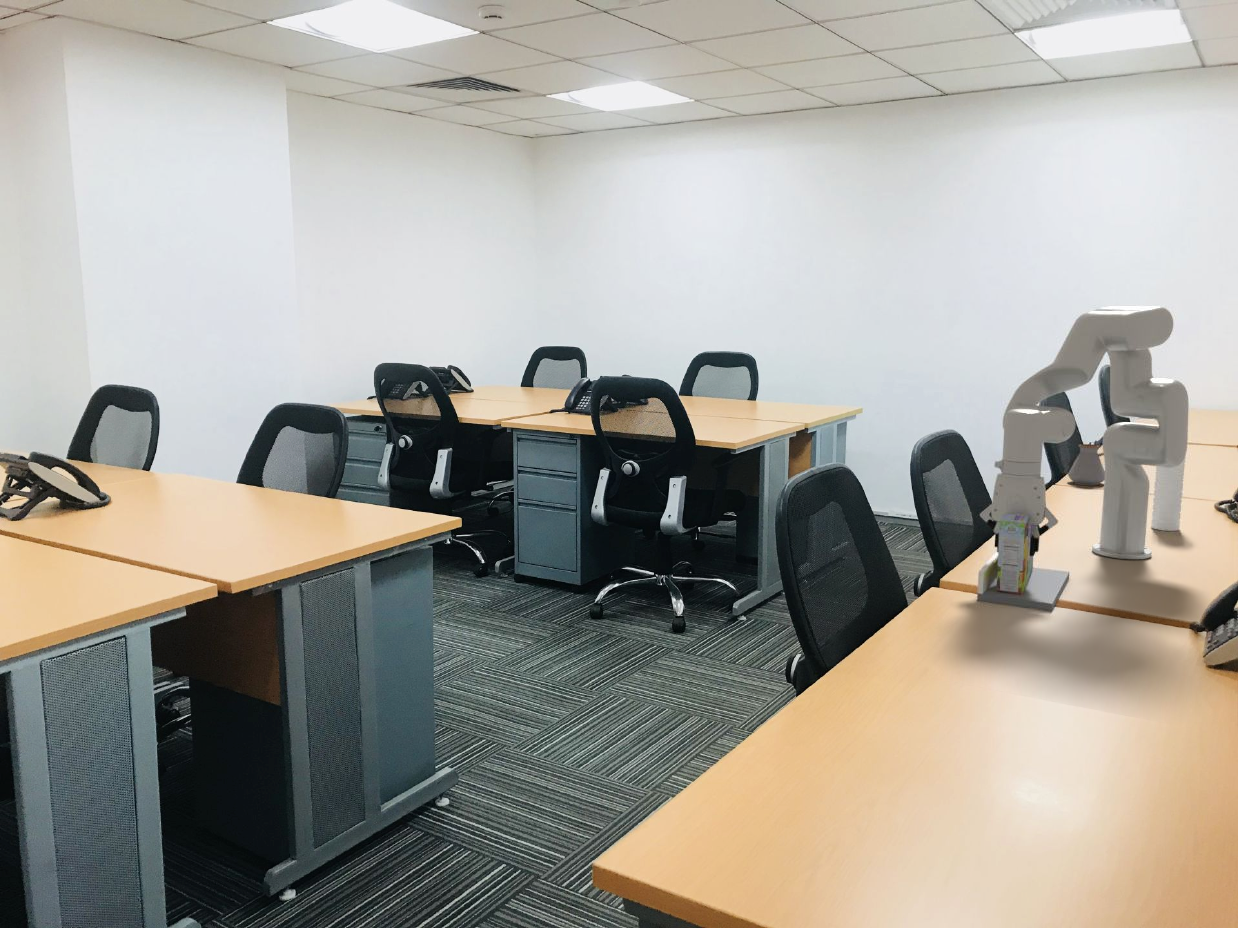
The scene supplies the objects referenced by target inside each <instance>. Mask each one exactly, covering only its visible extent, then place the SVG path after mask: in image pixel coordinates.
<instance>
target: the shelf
mask: <svg viewBox="0 0 1238 928" xmlns="http://www.w3.org/2000/svg"><path fill="white" fill-rule="evenodd" d="M997 571H998V552H997V551H996V552H994V553H993V555H992V556H991V558H990V559H988V561H987V562H986V563H984V565H983V566H982V567H981V569H979V571H978V579H977V599H976V600H977V601H980V602H986V603H993V604H999V605H1001V604H1002V605H1007V606H1014V607H1020V608H1021V607H1022V608H1026V609H1034V610H1035V609H1036V610H1041V609H1042V611H1047V610H1048V611H1049V612H1053V610H1054V608H1055V606H1056V604H1057V602H1058V600H1059V599H1060V597H1059V596H1061V595H1062V593H1063V591H1064V589H1065V587H1066V586H1067V583H1068V582H1067V581H1069V579H1070V574H1071V573H1070V571H1064V570H1058V569H1057V570H1056V569H1049V568H1042V567H1034V566H1033V569H1032V572H1031V574H1030V576H1029V579H1028V581H1027V583H1026V586H1025V588H1024V591H1023V593H1022V594H1016V593H1008V592H999V591H996V588H997ZM1060 594H1061V595H1060ZM1058 598H1059V599H1058ZM1048 611H1047V612H1048Z"/></svg>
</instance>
